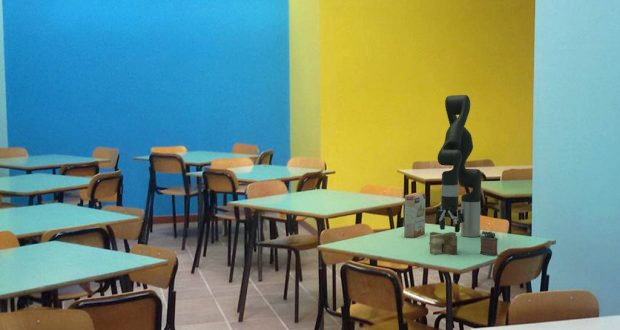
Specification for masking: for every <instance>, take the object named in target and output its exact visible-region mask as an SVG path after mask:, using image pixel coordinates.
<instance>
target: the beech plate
mask: <svg viewBox="0 0 620 330" xmlns="http://www.w3.org/2000/svg"><path fill="white" fill-rule="evenodd" d="M456 233H457V232H455V231H454V232H452V231H450V232H444V233H442V234H437V235H430V234H429V254H430V255H438V254H442V244H445V235H454V236H457V234H456Z"/></svg>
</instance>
